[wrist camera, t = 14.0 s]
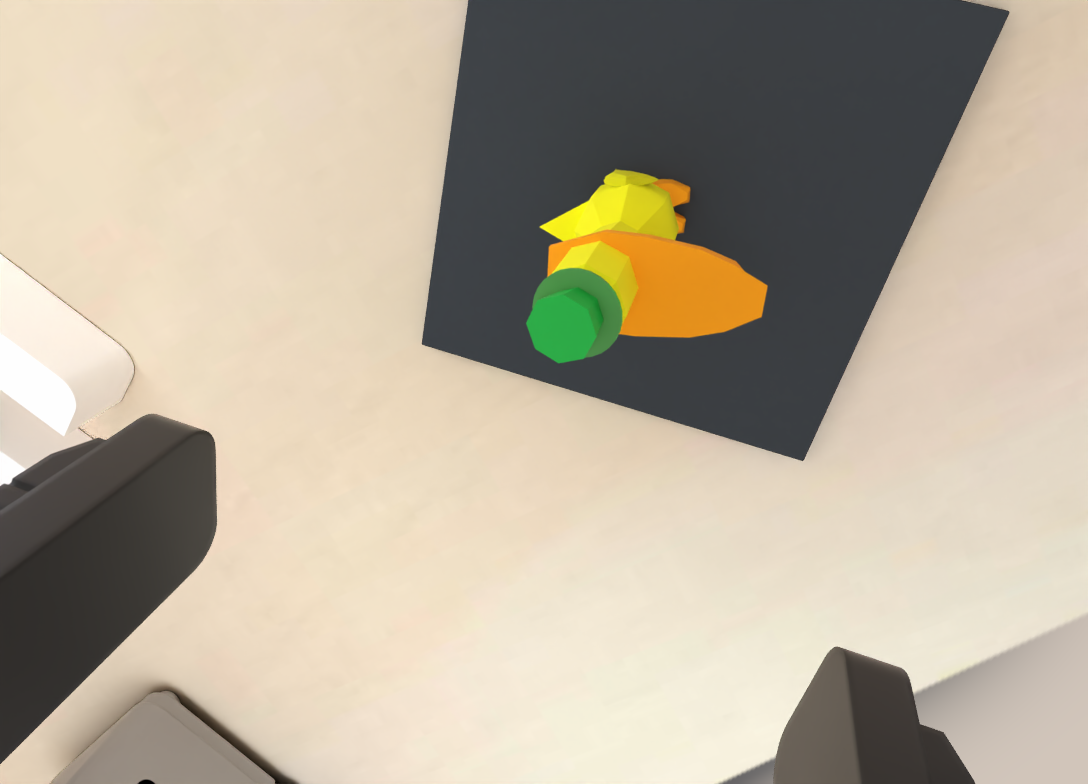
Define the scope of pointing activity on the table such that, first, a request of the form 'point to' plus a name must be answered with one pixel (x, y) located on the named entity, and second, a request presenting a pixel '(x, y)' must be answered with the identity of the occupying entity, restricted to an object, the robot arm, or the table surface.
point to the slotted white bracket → (50, 373)
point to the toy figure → (634, 274)
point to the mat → (702, 180)
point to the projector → (161, 751)
